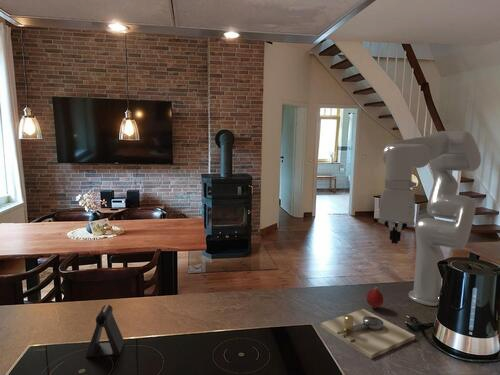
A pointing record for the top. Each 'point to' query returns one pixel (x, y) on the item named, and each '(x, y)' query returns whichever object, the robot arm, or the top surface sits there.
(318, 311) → the top surface
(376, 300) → the onion
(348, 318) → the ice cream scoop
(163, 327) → the top surface
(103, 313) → the dark triangular stand
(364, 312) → the stand board
